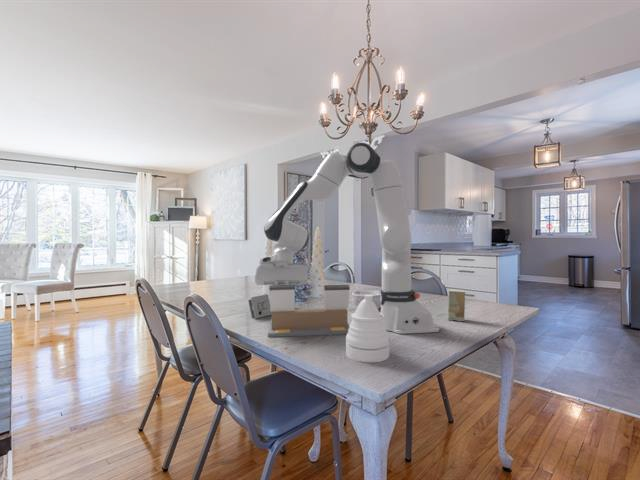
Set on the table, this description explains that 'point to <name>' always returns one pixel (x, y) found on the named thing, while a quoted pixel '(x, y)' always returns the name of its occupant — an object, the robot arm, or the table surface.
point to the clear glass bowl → (359, 296)
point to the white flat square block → (336, 297)
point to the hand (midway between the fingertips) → (281, 292)
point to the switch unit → (308, 322)
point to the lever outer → (282, 297)
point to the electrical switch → (260, 306)
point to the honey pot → (367, 334)
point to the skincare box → (456, 305)
